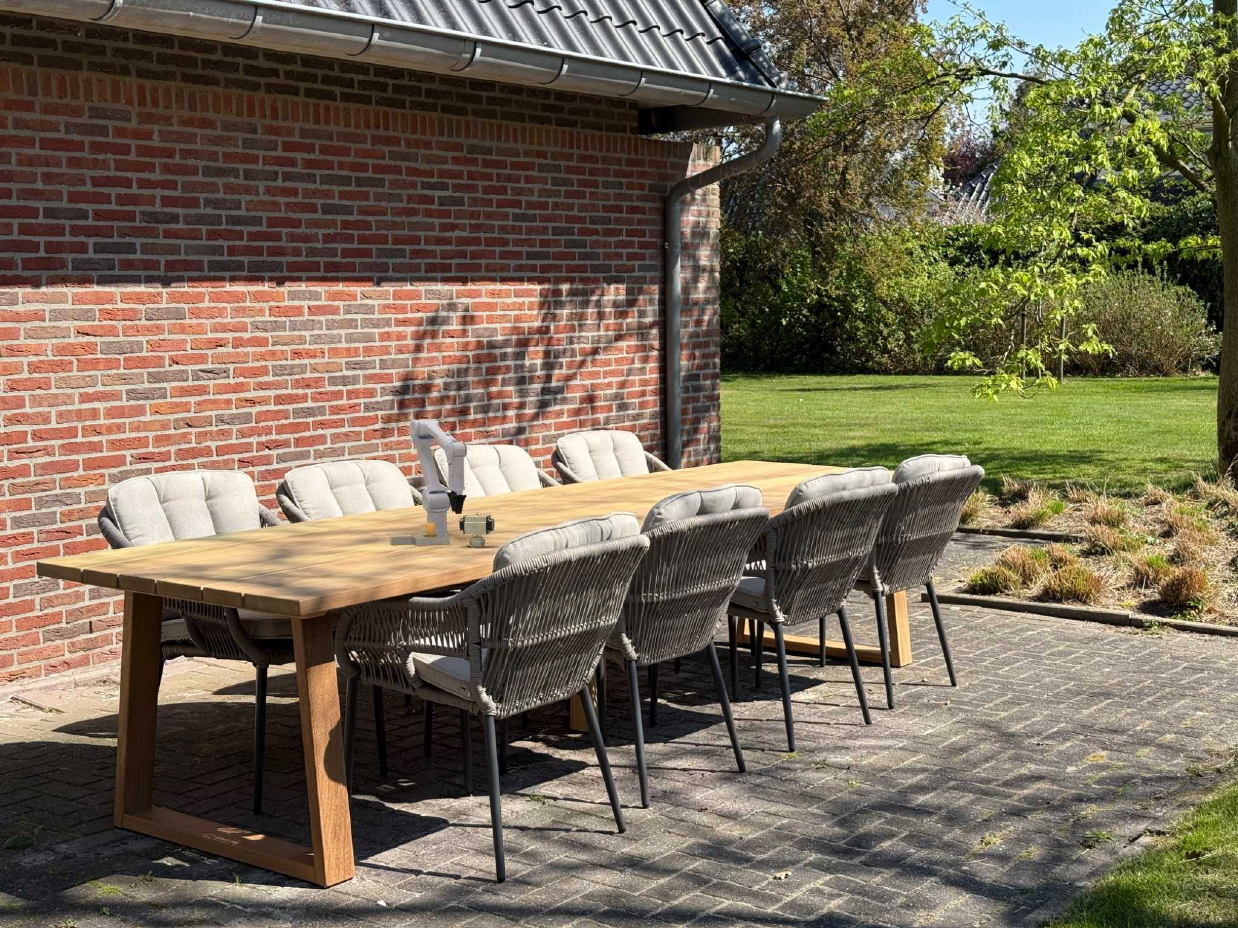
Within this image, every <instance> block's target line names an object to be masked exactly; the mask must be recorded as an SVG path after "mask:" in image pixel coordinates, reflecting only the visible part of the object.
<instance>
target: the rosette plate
mask: <svg viewBox="0 0 1238 928" xmlns="http://www.w3.org/2000/svg"><path fill="white" fill-rule="evenodd" d="M450 538H451V537H450V535H449V536H447V535H446V534H444V533H435V536H434V537H426V534H425V533H412V534H410V535H402V536H401V535H399V536H396V535H395V536H389V544H390V545H391V546H406V545H414V546H416V547H417V546H421V547H422V546H439V545H440V546H442V545H450V543H451V541H450V540H451V539H450Z"/></svg>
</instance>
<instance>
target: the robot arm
mask: <svg viewBox="0 0 1238 928" xmlns="http://www.w3.org/2000/svg"><path fill="white" fill-rule="evenodd" d="M409 434H410V438H411V442H412V444H414V445H415V449H416V453H417V456H418V461H419V464H420V467H421V468H420V469H421V471H422V475H423V478H424V479H423V480H424V483H425V488H424V489H423V491H422V492H421V504H422V508H423V509H424V511H425V512H427V513H426V514H427V515H426V523H435V533H444V534H446V535H447V536H449V537H450V535H451V534H450V533H449V532H448V512H449V511H450V510H449V509H450V508H451V512H453V513H455V515H461V514H462V513H463V508H464V503H465V501H466V498H467V497H468V496H467V494H463V491H465V490H466V487H465V458H466V457H467V454H468V447H467V445H466V442H465V441H462V440H461V441H458V440H457V439H456V438H455V437H454V436H453V435H452V434H451V432H445V431H444V430H443V429H441V427H440V422H439V421H438V419H436V418H431V419H412V420H411V422H410V423H409ZM436 440H437V444H438V446H439V447H440V448H441V449H442V450H444V454H445V457H446V463H447V464H448V467H447V468H448V472H447V473H448V475H447V476H448V478H447V479H448V487H446V486H444V485H443V484H441V483H440V478H439V475H438V472H437V468H436V464H435V461H434V457H433V452H432V449H431V445H432V444H434V443H435V442H436ZM423 534H426V531H424V533H423Z"/></svg>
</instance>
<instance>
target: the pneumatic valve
mask: <svg viewBox="0 0 1238 928" xmlns="http://www.w3.org/2000/svg"><path fill="white" fill-rule="evenodd" d="M458 525H459V527H458V528H459V531H462V534H463V535H472V537H470V538H469V541H468V543H469V545H470V547H471V548H481V547H483V546H485V544H486V539H485V538H484V536H483V535H490V534H491V533H492V532H494V530H495V526H496V524H495V519H494V518H492V515H491V514H479V512H475V514H465V515H463V516H462V517H461V518H460V519H459V524H458Z"/></svg>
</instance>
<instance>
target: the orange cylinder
mask: <svg viewBox="0 0 1238 928" xmlns="http://www.w3.org/2000/svg"><path fill="white" fill-rule="evenodd" d="M425 529H426V531H425V532H426V537H434V536H435V523H427V522H426V525H425Z"/></svg>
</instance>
